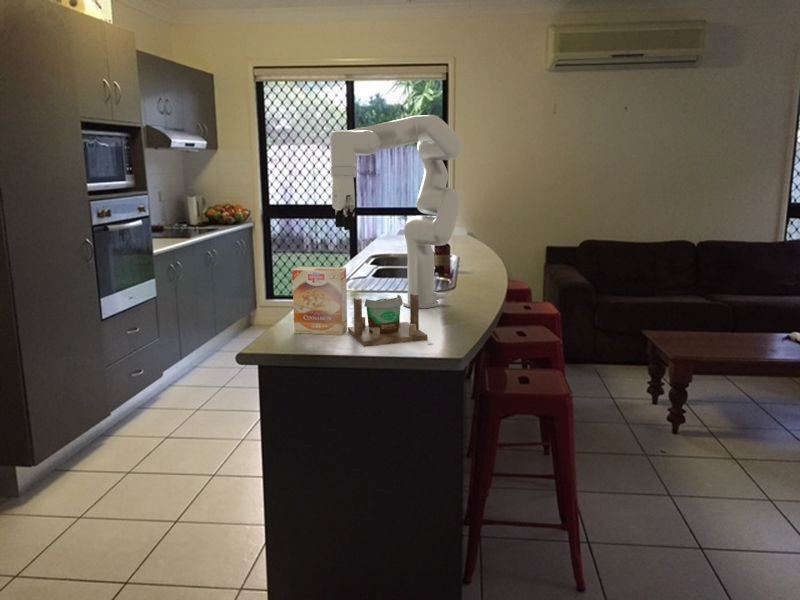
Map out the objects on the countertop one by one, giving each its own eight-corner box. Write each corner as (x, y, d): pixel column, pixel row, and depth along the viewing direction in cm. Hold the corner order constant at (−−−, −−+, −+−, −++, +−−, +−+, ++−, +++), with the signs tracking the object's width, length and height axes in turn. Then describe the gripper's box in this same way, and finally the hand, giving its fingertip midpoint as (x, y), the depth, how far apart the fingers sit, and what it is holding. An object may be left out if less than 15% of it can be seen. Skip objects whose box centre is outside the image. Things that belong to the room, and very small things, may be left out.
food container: (376, 337, 189) (375, 303, 187) (364, 332, 194) (364, 299, 192) (411, 330, 196) (411, 297, 194) (399, 326, 201) (399, 294, 199)
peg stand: (406, 326, 207) (406, 288, 205) (427, 340, 191) (427, 299, 189) (348, 332, 201) (347, 293, 198) (364, 346, 185) (363, 304, 183)
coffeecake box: (293, 333, 199) (291, 269, 195) (300, 327, 206) (298, 265, 202) (342, 335, 197) (340, 270, 193) (347, 329, 204) (346, 266, 200)
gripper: (324, 172, 209) (326, 226, 212) (339, 173, 193) (340, 231, 196) (347, 171, 211) (348, 225, 215) (363, 172, 195) (364, 230, 199)
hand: (344, 228), depth 206 cm, fingers open, 9 cm apart
